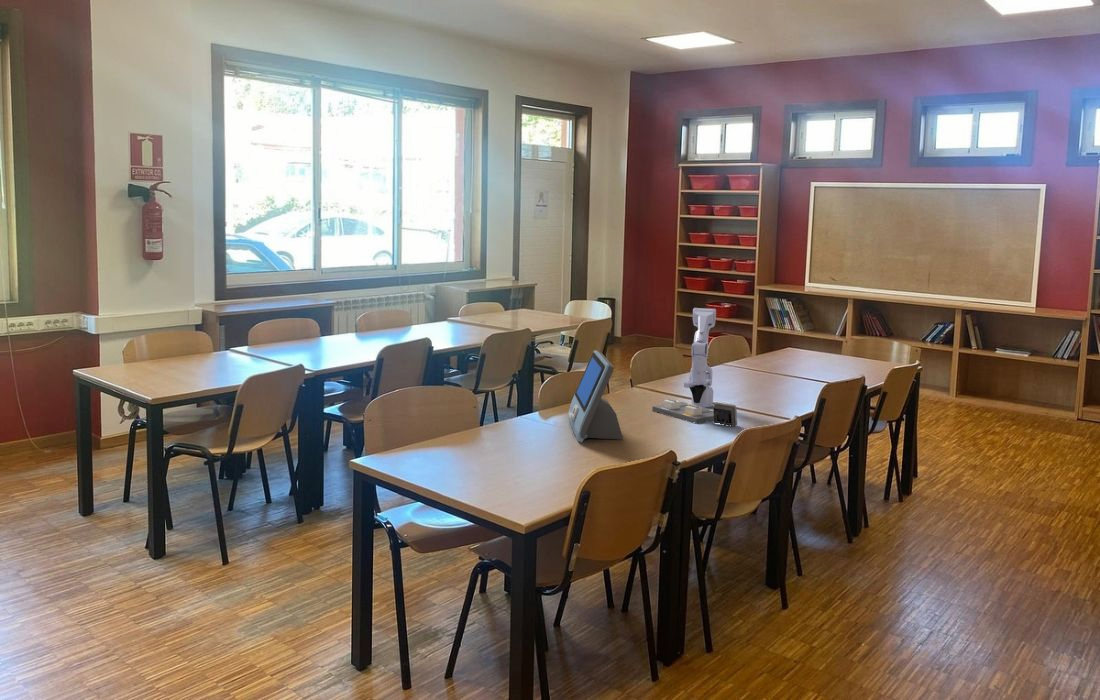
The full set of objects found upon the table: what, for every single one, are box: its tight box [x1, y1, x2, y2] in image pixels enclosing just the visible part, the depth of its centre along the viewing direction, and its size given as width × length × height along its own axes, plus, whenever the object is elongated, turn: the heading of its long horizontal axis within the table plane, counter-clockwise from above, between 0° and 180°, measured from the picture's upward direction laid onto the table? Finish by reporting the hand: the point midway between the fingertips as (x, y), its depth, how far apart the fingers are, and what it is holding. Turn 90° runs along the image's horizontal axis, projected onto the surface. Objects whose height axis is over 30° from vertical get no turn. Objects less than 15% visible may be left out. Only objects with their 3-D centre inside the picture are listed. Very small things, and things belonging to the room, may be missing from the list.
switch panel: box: [652, 401, 714, 424], centre depth 368 cm, size 18×26×2 cm
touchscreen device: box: [567, 350, 624, 444], centre depth 333 cm, size 35×20×30 cm, turn 5°
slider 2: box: [685, 403, 702, 416], centre depth 360 cm, size 5×5×4 cm
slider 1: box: [662, 398, 681, 410], centre depth 370 cm, size 5×5×4 cm
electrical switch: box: [712, 401, 738, 427], centre depth 350 cm, size 9×5×9 cm, turn 57°
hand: (696, 402), depth 360 cm, fingers closed
